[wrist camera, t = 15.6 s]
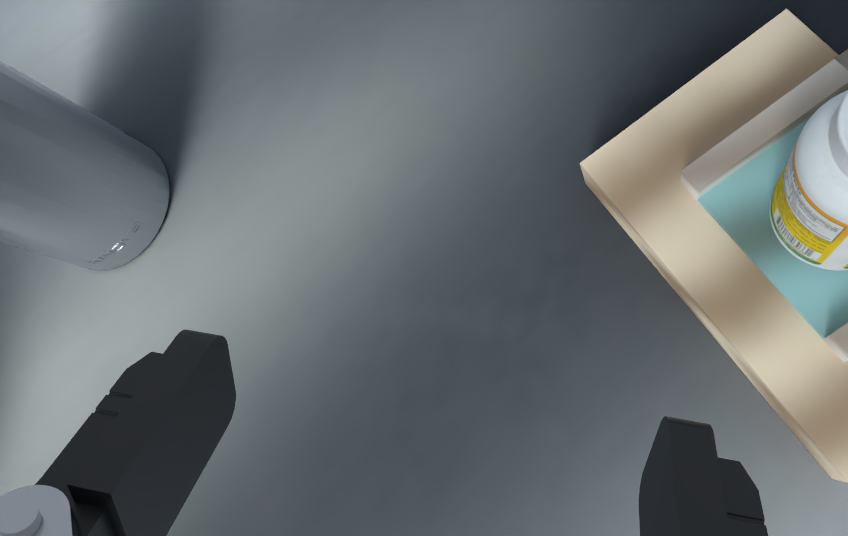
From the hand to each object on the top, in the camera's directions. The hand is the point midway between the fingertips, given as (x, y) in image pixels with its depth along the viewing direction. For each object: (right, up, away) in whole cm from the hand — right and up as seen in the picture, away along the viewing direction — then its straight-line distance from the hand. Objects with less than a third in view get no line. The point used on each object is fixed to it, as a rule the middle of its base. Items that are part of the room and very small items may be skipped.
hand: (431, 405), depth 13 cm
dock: (+18, +4, +21) cm, 28 cm away
